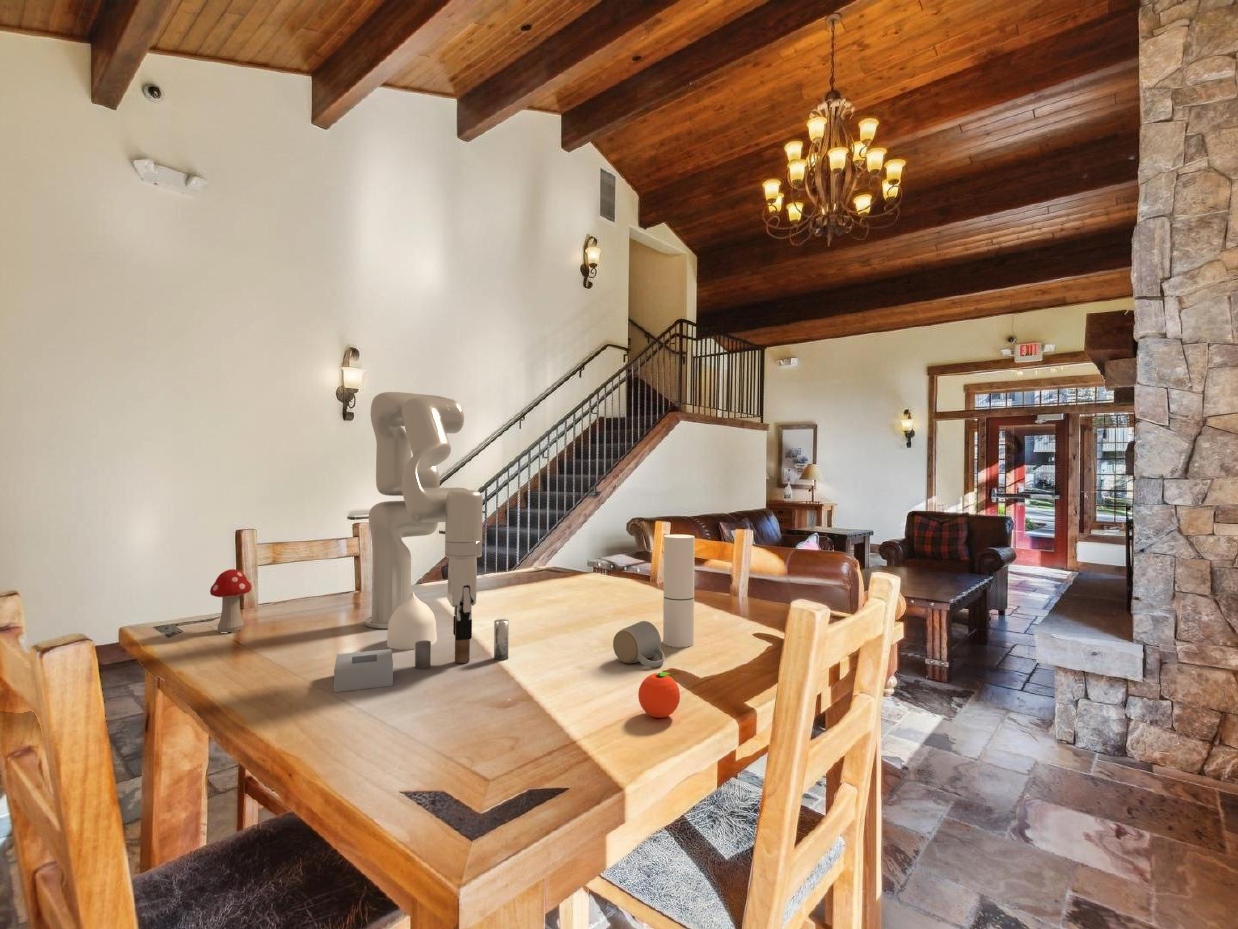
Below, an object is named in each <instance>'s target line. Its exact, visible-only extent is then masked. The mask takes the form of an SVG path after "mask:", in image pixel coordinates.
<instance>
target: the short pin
mask: <svg viewBox="0 0 1238 929" xmlns="http://www.w3.org/2000/svg"><path fill="white" fill-rule="evenodd" d="M431 646H432V645H431V642H430V641H427V640H424V641H418V642H416V643H415V649H414V654H415V656H414V668H415V669H416V670H428V669H429V668H431V663H432V662H431V660H432V659H431V654H432V653H431V652H432V649H431V648H432V647H431Z"/></svg>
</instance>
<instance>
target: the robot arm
mask: <svg viewBox="0 0 1238 929" xmlns="http://www.w3.org/2000/svg"><path fill="white" fill-rule="evenodd" d="M370 405H371V406H370V421H371V425H372V429H373V432H374V436H375V442H376V443H375V444H376V451H375V452H376V455H375V458H376V459H375V460H376V461H375V462H376V463H375V484H376V489H377V491H378V493H380V495H383V496H389V497H399V496H400V497H402V496H403V500H390V501H389V500H388V501H381V502H378V503H376V504H374V505H373V506H372V507H371V508H370V509H369V512H368V525H369V532H370V538H371V562H372V563H371V567H372V568H371V575H372V576H371V616H369V617H366V619H365V621H364V624H365V626H366V627H368V628H373V629H388V623H389V620H390V618H391V616H392V614H393V613H394V611H395V610H396V609H397V608H398V607H399V606H401V605H402V604H403V603H404V602H405V601H406V600H407V599H408V598H409V597H410V595H411V593H412V554H411V551H410V549H409V547H408V546H407V545H406V543H405V542H404V541H403V538H409V537H412V538H413V537H423V536H430V535H432V534H434V533H435V531H436V530H437V528H438V526H439V523H444V524H445V527H444V530H445V531H444V532H445V533H444V534H445V535H444V558H447V559H449V560H448V571H447V572H448V573H447V593H446V595H447V596H446V598H447V600H448V603H449V605H450V606H451V607H452V608H454V609H453V611H454V612H453V614H454V615H453V624H452V625H453V636H455V606H456V605H457V620H456V640H467V639H470V640H471V639H472V637H473V636H472V635H473V620H472V618H473V617H472V616H473V615H472V607H474V606H475V605H476V603H477V587H478V586H477V585H478V579H477V577H478V574H477V573H478V572H477V571H478V569H477V568H478V566H477V561H478V560H477V558H481V557H482V556H483V507H484V506H483V505H484V504H483V500H484V499H483V495H482V493H481V492H480V491H478V490H473V489H472V490H471V489H468V488H465V487H440V485H441V484H440V474H439V470H438V467H437V466H438V465H439V464H442V463H443V462H445V461H446V460H447V459H448V458H449V456H450V454H451V449H452V448H451V444H450V441H449V438H448V436H447V434H457V433H459V432H460V431H461V430H462V428H463V427H464V422H465V414H464V411H463V408H462V407H461V405H460V403H459V402H458V401H457V400H455V399H453V398H452V399H451V398H447V397H443V396H441V395H433V394H422V393H412V392H400V391H386V392H380V393H377V395H375V396H374V397H373V399H372V402H371V404H370ZM403 427H404V428H403ZM462 602H463V605H460V603H462ZM461 609H463V610H461Z"/></svg>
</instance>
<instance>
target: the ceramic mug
mask: <svg viewBox="0 0 1238 929" xmlns="http://www.w3.org/2000/svg"><path fill="white" fill-rule="evenodd" d="M661 647H662V639H661V635H660V632H659V629H657V628H656V626H655V625H654V624H653V623H652V622H649V621H647V620H642V621H639V622H636V623H634V624H632V625H630V626H627V627H624V628H622V629H620V630H619V631H618V632H617V633H616V634H615V635H614V637H613V641H612V648H613V651H614V654H615V656H616V657H617V658H618V660H619V661H621V662H622V663H624V664H635V663H638V662H639V663H640V664H642V665H643V666H645V667H648V668H651V669H656V667H657V668H659V666H660V667H661V666H662V665H663V664H664V661H665V654H664V652H663V651H662V649H661ZM655 656H658V657H659V659H660V660H659V661H653V660H649V659H650V658H654V657H655Z"/></svg>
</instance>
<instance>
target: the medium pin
mask: <svg viewBox="0 0 1238 929" xmlns="http://www.w3.org/2000/svg"><path fill="white" fill-rule="evenodd" d="M509 624H510V622H509V620H508V619H505V618H499V619H496V620H494V621H493V626H494V627H493V632H494V633H493V660H494V661H506V660H508V659H509Z"/></svg>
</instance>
